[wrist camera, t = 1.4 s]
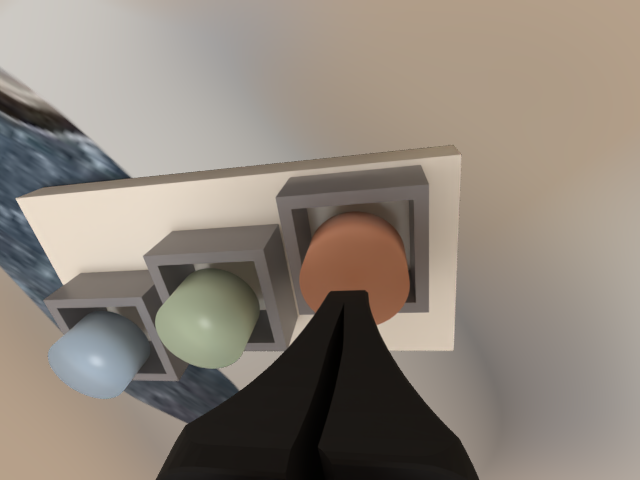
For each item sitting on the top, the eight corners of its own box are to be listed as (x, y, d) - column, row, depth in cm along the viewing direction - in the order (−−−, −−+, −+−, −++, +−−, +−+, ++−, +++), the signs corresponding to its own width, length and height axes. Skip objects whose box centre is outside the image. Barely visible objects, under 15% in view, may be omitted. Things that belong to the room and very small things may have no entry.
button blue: (160, 366, 22) (137, 399, 20) (99, 366, 23) (70, 397, 20) (134, 309, 20) (105, 339, 18) (68, 311, 21) (33, 340, 18)
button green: (267, 334, 19) (253, 368, 17) (194, 335, 20) (172, 367, 18) (249, 266, 17) (231, 295, 15) (169, 270, 18) (141, 297, 16)
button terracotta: (406, 293, 17) (410, 327, 15) (316, 295, 17) (308, 328, 15) (403, 207, 15) (408, 232, 13) (302, 215, 16) (290, 239, 13)
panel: (447, 328, 23) (463, 390, 19) (116, 331, 28) (69, 382, 23) (453, 144, 18) (477, 172, 13) (43, 187, 22) (-35, 218, 18)
